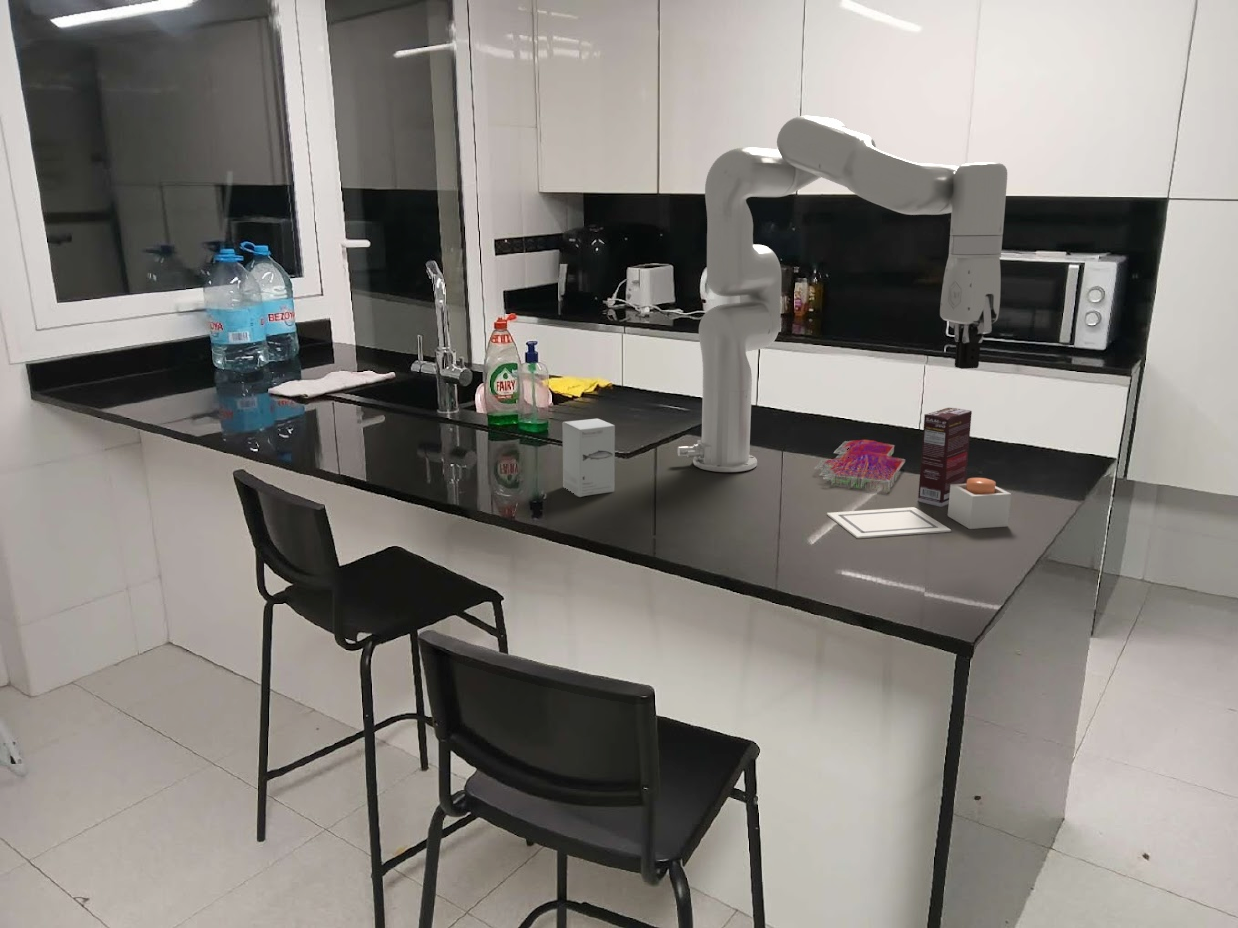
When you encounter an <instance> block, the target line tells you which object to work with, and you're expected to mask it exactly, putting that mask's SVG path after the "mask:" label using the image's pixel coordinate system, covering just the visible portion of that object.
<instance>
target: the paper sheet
mask: <svg viewBox="0 0 1238 928" xmlns="http://www.w3.org/2000/svg"><path fill="white" fill-rule="evenodd" d="M826 515H827V516H828V517H829V518H831V519H832V520H833V521H834V522H835V523H837V524H838V525H839V526H841V528H843V529H845V530H846V531H847V532H848V533H850V534H851V535H852V536H853V537H854V538H856V539H867V538H881V537H895V536H896V537H897V536H908V535H909V536H910V535H911V536H912V535H922V534H923V535H924V534H925V535H926V534H938V533H939V534H940V533H951V532H952V529H950V528H949V527H947V526H946V525H944V524H942V523H941V522H939V521H937V520H936V519H935V518H932V516H930V515H928V514H926V513H925V512H923V511H922V510H920V509H918V508H916V507H914V506H913V507H912V506H911V507H909V506H908V507H897V508H896V507H895V508H883V509H882V508H880V509H867V510H866V509H865V510H851V511H850V510H849V511H838V512H837V511H836V512H826Z"/></svg>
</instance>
